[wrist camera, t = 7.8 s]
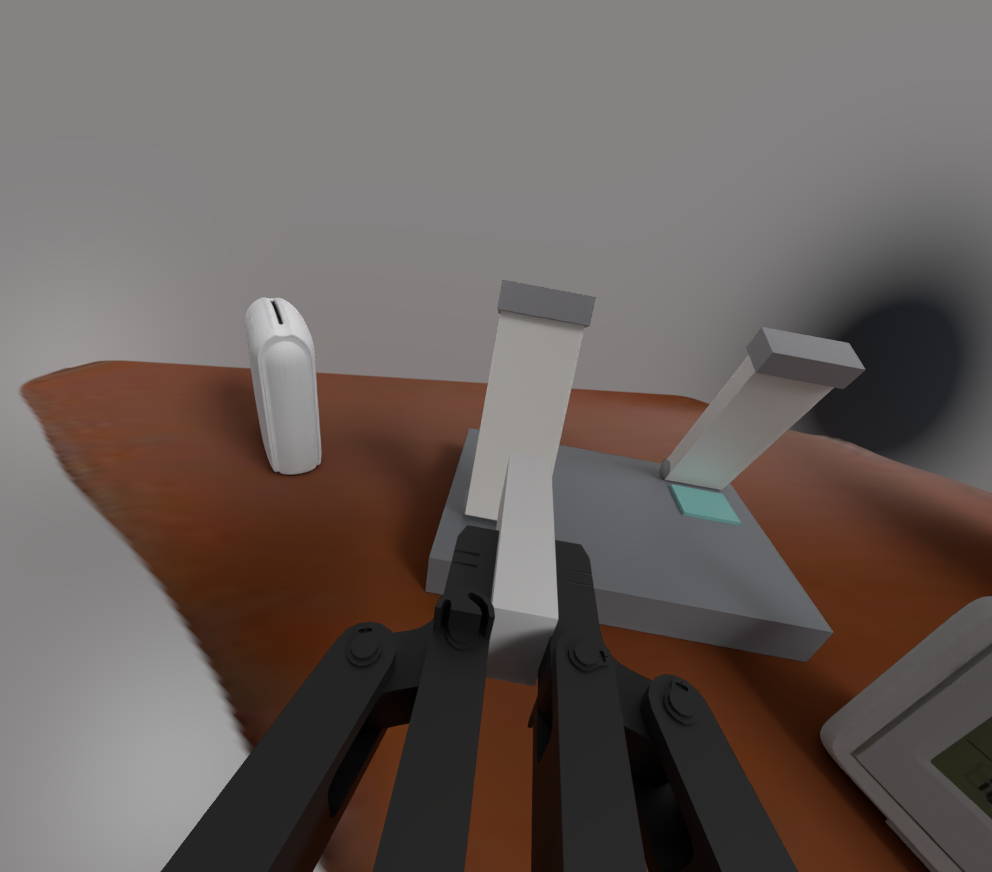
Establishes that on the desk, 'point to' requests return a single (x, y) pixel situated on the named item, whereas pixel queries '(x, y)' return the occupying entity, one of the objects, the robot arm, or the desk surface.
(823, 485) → the desk surface
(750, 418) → the lever
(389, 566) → the desk surface
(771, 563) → the switch unit
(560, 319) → the lever
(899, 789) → the digital clock
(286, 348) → the photo printer
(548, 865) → the robot arm
